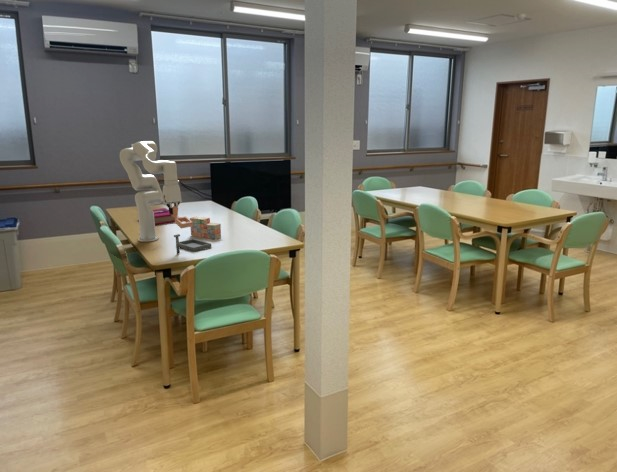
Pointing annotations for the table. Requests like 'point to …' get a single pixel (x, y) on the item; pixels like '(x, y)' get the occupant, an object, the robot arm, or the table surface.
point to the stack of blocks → (205, 228)
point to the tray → (194, 245)
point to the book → (162, 216)
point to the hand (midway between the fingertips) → (173, 213)
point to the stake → (177, 242)
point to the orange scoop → (181, 219)
